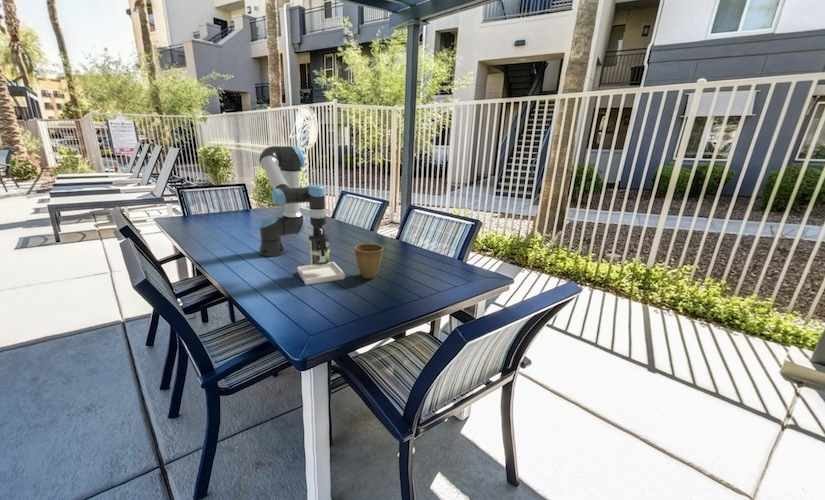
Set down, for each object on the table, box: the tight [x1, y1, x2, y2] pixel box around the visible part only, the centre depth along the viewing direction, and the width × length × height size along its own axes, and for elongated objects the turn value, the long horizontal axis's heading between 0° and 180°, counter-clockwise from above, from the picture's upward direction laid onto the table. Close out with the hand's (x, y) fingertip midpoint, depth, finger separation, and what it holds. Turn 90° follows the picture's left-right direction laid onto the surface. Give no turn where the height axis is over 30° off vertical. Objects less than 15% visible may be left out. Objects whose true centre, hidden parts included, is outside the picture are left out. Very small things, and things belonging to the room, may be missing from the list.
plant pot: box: [354, 243, 384, 279], centre depth 179 cm, size 15×15×16 cm
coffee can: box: [308, 234, 331, 266], centre depth 176 cm, size 10×10×14 cm
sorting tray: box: [297, 261, 346, 286], centre depth 180 cm, size 20×20×3 cm
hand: (320, 258), depth 177 cm, fingers closed on coffee can, 10 cm apart
